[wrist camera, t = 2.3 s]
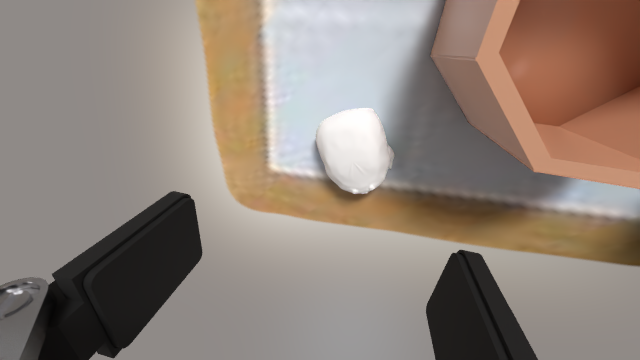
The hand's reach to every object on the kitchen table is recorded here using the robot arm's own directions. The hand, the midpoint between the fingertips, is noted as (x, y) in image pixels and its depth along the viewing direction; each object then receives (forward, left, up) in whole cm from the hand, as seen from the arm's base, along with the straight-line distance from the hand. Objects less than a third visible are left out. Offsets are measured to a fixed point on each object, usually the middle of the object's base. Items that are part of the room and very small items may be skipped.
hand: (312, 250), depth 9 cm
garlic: (-1, +2, -17) cm, 17 cm away
